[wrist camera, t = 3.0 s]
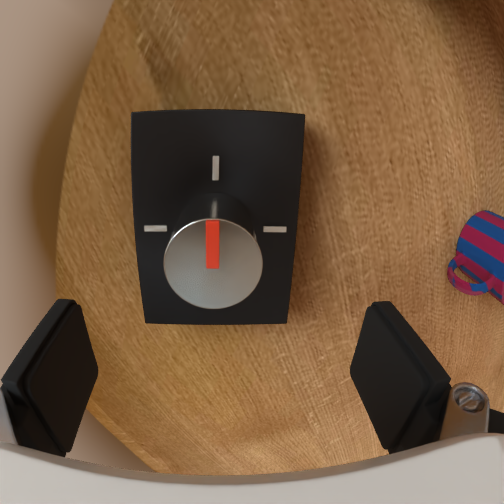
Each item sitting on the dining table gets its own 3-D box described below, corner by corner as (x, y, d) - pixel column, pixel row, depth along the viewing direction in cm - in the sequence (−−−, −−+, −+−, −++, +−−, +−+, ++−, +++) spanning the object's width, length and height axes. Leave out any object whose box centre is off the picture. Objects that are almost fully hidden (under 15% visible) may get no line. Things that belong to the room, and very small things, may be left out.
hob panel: (280, 302, 25) (287, 325, 22) (152, 302, 24) (144, 324, 21) (294, 115, 20) (306, 114, 17) (143, 114, 19) (130, 112, 16)
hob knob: (250, 262, 20) (261, 312, 15) (179, 261, 20) (166, 312, 14) (253, 192, 18) (266, 221, 13) (177, 191, 18) (158, 220, 13)
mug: (494, 268, 26) (535, 297, 20) (424, 287, 26) (466, 327, 20) (503, 207, 24) (551, 230, 17) (431, 217, 23) (484, 247, 17)
